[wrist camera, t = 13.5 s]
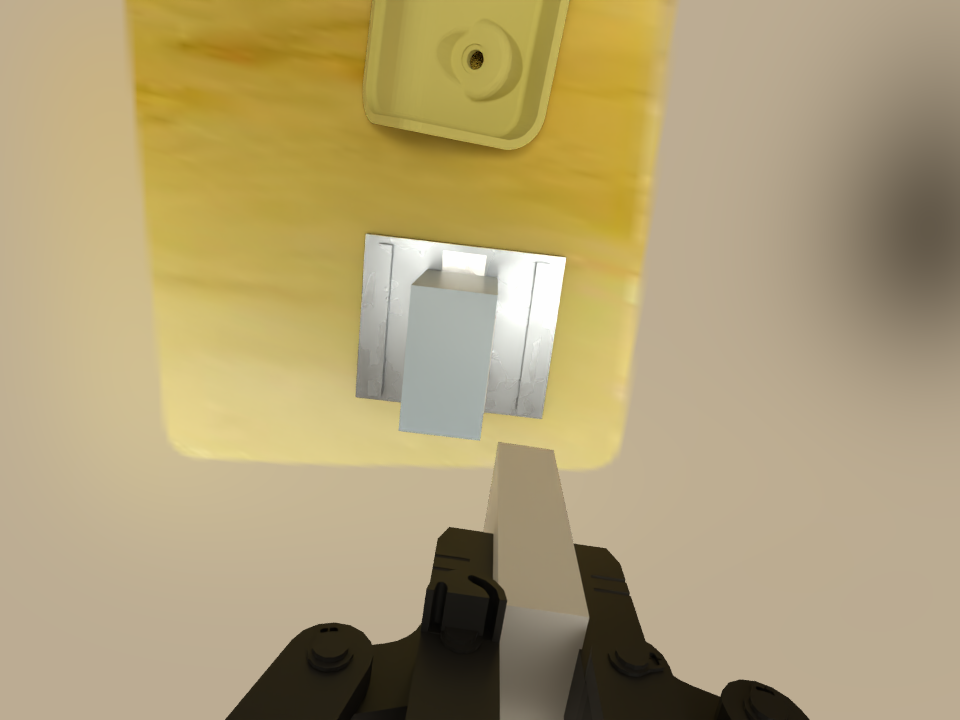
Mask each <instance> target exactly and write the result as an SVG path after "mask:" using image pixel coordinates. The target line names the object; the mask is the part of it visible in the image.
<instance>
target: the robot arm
mask: <svg viewBox="0 0 960 720" xmlns="http://www.w3.org/2000/svg"><path fill="white" fill-rule="evenodd" d="M629 594H630V593H629V590H628V586H627V584H626V583H625V577H624V574H623V571H622V568H621V565H620V563H619V562H618V561H617V560H616V559H615V558H614V557H613V555H612V554H611V553H610V552H609V551H608V550H607V549H606V548H600V547H593V546H586V545H578V544H574V543H573V539H572V534H571V530H570V525H569V520H568V516H567V511H566V506H565V502H564V497H563V492H562V488H561V483H560V479H559V474H558V469H557V464H556V460H555V455H554V450H549V449H543V448H536V447H529V446H522V445H516V444H509V443H502V442H498V447H497V453H496V459H495V465H494V471H493V477H492V484H491V489H490V495H489V501H488V507H487V513H486V519H485V525H484V531H483V532H479V531H472V530H465V529H459V528H451V527H449V528H448V529H447V530H446V531H445V532H444V533H443V534H442V535H441V536H440V537H439V538H438V541H437V546H436V552H435V558H434V564H433V569H432V575H431V580H430V584H429V585H428V587H427V590H426V597H425V604H424V611H423V618H422V623H421V625H420V626H419V627H418V628H417V630H416V631H414V632H413V633H412V634H411V635H409V636H408V637H405V638H403V639H401V640H398V641H395V642H390V643H385V644H376V645H372V644H371V641H370V640H369V639H368V638H367V636H366V635H365V634H364V633H363V632H362V631H360V630H358V629H356V628H354V627H352V626H351V625H345V624H340V623H326V624H318V625H315V626H313V627H310V628H308V629H305V630H303V631H302V632H301V633H300V634H298V635H297V636H296V637H295V638H294V639H292V640H291V642H290V643H289V644H288V645H287V646H286V648H285V649H284V650H283V651H282V652H281V653H280V655H279V656H278V657H277V658H276V660H275V661H274V662H273V663H272V664H271V666H270V667H269V668H268V669H267V670H266V671H265V673H264V674H263V675H262V676H261V677H260V679H259V680H258V681H257V682H256V683H255V685H254V686H253V687H252V688H251V689H250V691H249V692H248V693H247V694H246V695H245V696H244V698H243V699H242V700H241V701H240V702H239V704H238V705H237V706H236V707H235V708H234V710H233V711H232V712H231V713H230V714H229V716H228V717H227V718H226V719H225V720H809V718H808V717H807V716H806V715H805V714H804V713H803V711H802V710H801V709H800V708H798V707H797V706H796V705H795V704H794V703H793V702H792V701H791V700H790V699H789V698H788V697H786V696H784V695H783V694H781V693H780V692H778V691H777V690H775V689H774V688H772V687H769V686H767V685H764V684H761V683H759V682H756V681H749V680H737V681H733V682H730V683H728V685H727V686H726V687H725V688H724V689H723V690H722V693H721V697H719V696H717V695H714V694H711V693H709V692H706V691H704V690H701V689H699V688H696V687H693V686H691V685H689V684H687V683H685V682H683V681H681V680H679V679H677V678H676V677H674V676H673V674H672V672H671V669H670V666H669V665H668V663H667V661H666V660H665V658H664V657H663V655H662V654H661V653H660V652H659V651H658V650H657V649H656V648H654V647H653V646H652V645H651V644H649V643H647V642H646V641H645V638H644V635H643V632H642V629H641V626H640V623H639V620H638V617H637V614H636V611H635V608H634V605H633V602H632V599H631V596H629Z"/></svg>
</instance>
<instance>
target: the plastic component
mask: <svg viewBox="0 0 960 720" xmlns="http://www.w3.org/2000/svg"><path fill="white" fill-rule="evenodd" d="M569 1H570V0H372V6H371V15H370V24H369V33H368V42H367V51H366V60H365V70H364V79H363V103H364V109H365V113H366V115H367V117H368V120H369V121H370V122H371V123H374V124H379V125H384V126H389V127H394V128H399V129H404V130H409V131H414V132H419V133H424V134H429V135H434V136H439V137H444V138H449V139H454V140H459V141H464V142H469V143H474V144H479V145H484V146H489V147H494V148H499V149H505V150H513V149H517V148H520V147H523V146H525V145H526V144H528V143H529V142H531V141H532V140H533V139H534V137H535V136H536V135H537V134H538V132H539V131H540V129H541V127H542V125H543V122H544V120H545V116H546V111H547V107H548V102H549V97H550V92H551V87H552V83H553V78H554V73H555V68H556V63H557V59H558V54H559V49H560V44H561V39H562V35H563V30H564V25H565V20H566V15H567V11H568V6H569ZM476 52H481V53H482V54H483V58H484V62H483V64H482V66H481V67H480V68H479V69H476V70H473V69H472V67H471V64H470V59H471V57H472V55H473V54H474V53H476Z"/></svg>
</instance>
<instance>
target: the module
mask: <svg viewBox="0 0 960 720" xmlns="http://www.w3.org/2000/svg"><path fill="white" fill-rule="evenodd" d="M497 299H498V278H497V277H488V276H480V275H472V274H463V273H455V272H446V271H438V270H430V269H427V270H426V271H425V272H424V273H423V274H422V275H421V276H420V277H419V278H418V279H417V280H416V281H415V282H414V283H413V284H412V285H411V292H410V304H409V315H408V327H407V339H406V351H405V363H404V374H403V386H402V398H401V410H400V422H399V431H404V432H412V433H421V434H429V435H437V436H446V437H454V438H463V439H471V440H479V441H480V436H481V428H482V420H483V414H484V409H485V401H486V393H487V385H488V377H489V368H490V360H491V352H492V344H493V336H494V328H495V320H496V307H497Z"/></svg>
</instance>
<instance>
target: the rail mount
mask: <svg viewBox="0 0 960 720" xmlns="http://www.w3.org/2000/svg"><path fill="white" fill-rule="evenodd" d="M565 262H566V257H563V256H554V255H546V254H538V253H529V252H521V251H512V250H504V249H495V248H487V247H478V246H470V245H461V244H453V243H444V242H436V241H428V240H419V239H411V238H402V237H394V236H385V235H377V234H366V238H365V254H364V270H363V286H362V302H361V318H360V334H359V350H358V366H357V383H356V397H360V398H368V399H376V400H385V401H393V402H401V398H402V386H403V374H404V363H405V351H406V339H407V327H408V315H409V304H410V292H411V285H412V284H413V283H414V282H415V281H416V280H417V279H418V278H419V277H420V276H421V275H422V274H423V273H424V272H425V271H426V270H427V269H430V270H438V271H446V272H455V273H463V274H472V275H480V276H488V277H497V278H498V299H497V307H496V320H495V328H494V336H493V344H492V352H491V360H490V368H489V377H488V385H487V393H486V401H485V409H484V412H486V413H495V414H503V415H512V416H520V417H529V418H537V419H542V414H543V408H544V401H545V394H546V388H547V381H548V374H549V368H550V361H551V355H552V348H553V341H554V335H555V328H556V321H557V315H558V308H559V301H560V295H561V288H562V281H563V275H564V268H565Z"/></svg>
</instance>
